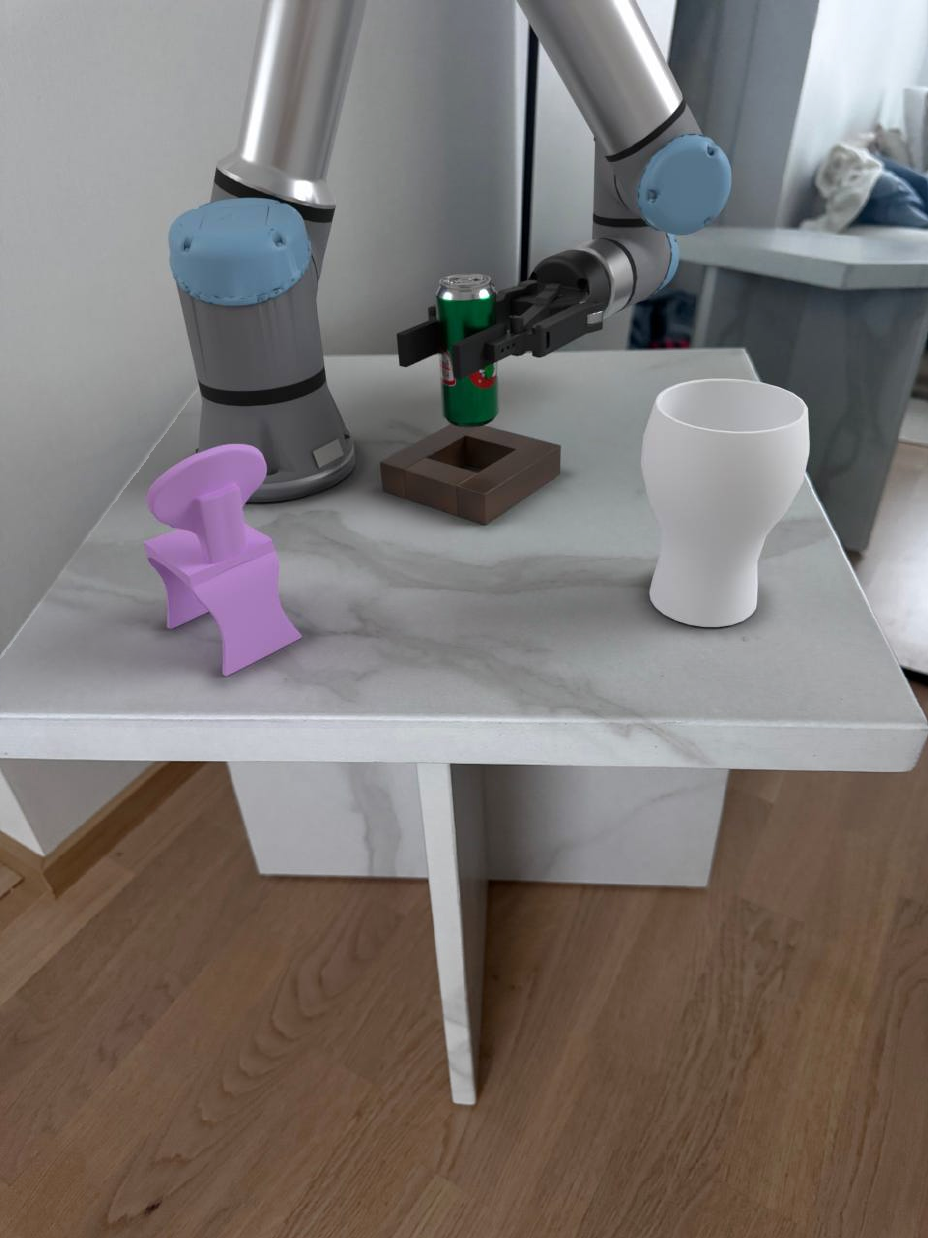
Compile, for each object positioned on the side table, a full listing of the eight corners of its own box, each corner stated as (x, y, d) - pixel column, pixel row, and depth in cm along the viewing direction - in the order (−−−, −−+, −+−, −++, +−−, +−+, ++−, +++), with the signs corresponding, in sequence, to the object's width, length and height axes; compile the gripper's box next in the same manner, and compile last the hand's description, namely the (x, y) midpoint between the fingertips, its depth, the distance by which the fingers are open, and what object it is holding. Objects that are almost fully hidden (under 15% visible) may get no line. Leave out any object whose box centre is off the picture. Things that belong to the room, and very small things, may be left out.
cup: (784, 647, 59) (828, 440, 50) (626, 633, 61) (643, 432, 52) (771, 566, 67) (807, 377, 59) (632, 556, 69) (648, 372, 61)
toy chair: (249, 586, 68) (209, 402, 59) (313, 631, 62) (280, 437, 54) (151, 630, 63) (93, 439, 55) (212, 684, 58) (157, 481, 49)
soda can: (441, 409, 80) (432, 273, 73) (496, 406, 80) (492, 269, 73) (444, 431, 76) (435, 289, 69) (501, 427, 76) (498, 285, 69)
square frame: (382, 490, 81) (379, 461, 79) (460, 446, 88) (459, 418, 86) (485, 525, 74) (484, 494, 73) (560, 474, 82) (561, 444, 80)
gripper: (658, 340, 82) (520, 422, 68) (503, 314, 92) (353, 381, 77) (665, 257, 78) (519, 325, 63) (502, 239, 87) (342, 294, 73)
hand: (428, 356), depth 70 cm, fingers closed on soda can, 5 cm apart
